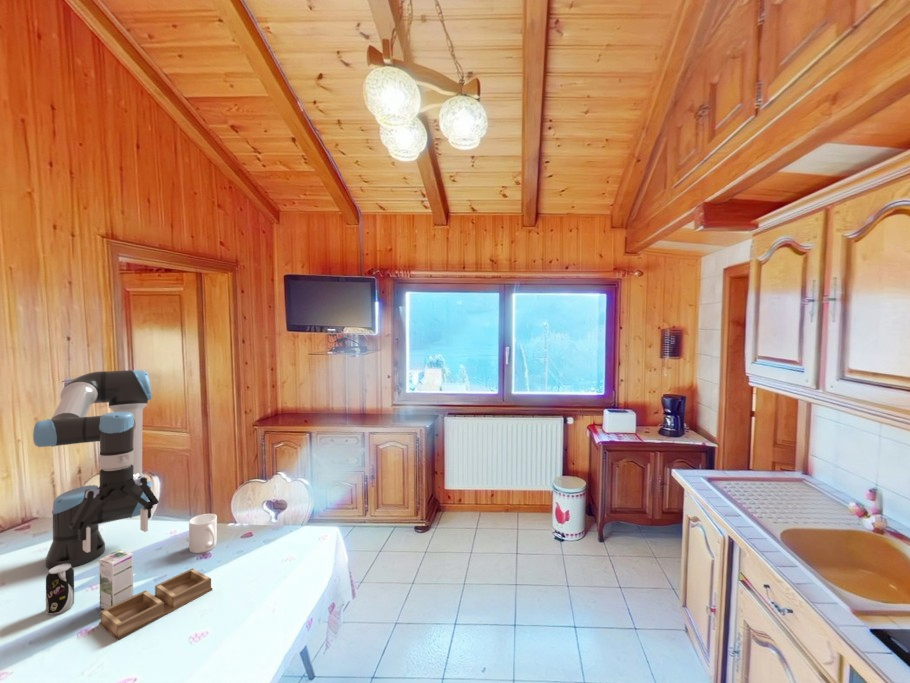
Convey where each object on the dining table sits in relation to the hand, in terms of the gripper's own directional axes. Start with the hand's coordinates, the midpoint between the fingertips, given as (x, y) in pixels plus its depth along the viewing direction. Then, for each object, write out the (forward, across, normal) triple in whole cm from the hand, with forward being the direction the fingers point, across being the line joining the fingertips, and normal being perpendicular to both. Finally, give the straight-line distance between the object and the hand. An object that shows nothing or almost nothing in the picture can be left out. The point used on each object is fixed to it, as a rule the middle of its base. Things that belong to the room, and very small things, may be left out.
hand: (116, 540), depth 117 cm
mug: (+19, +30, +9) cm, 37 cm away
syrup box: (+19, 0, 0) cm, 19 cm away
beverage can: (+19, -9, +11) cm, 24 cm away
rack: (+19, +6, -11) cm, 23 cm away
